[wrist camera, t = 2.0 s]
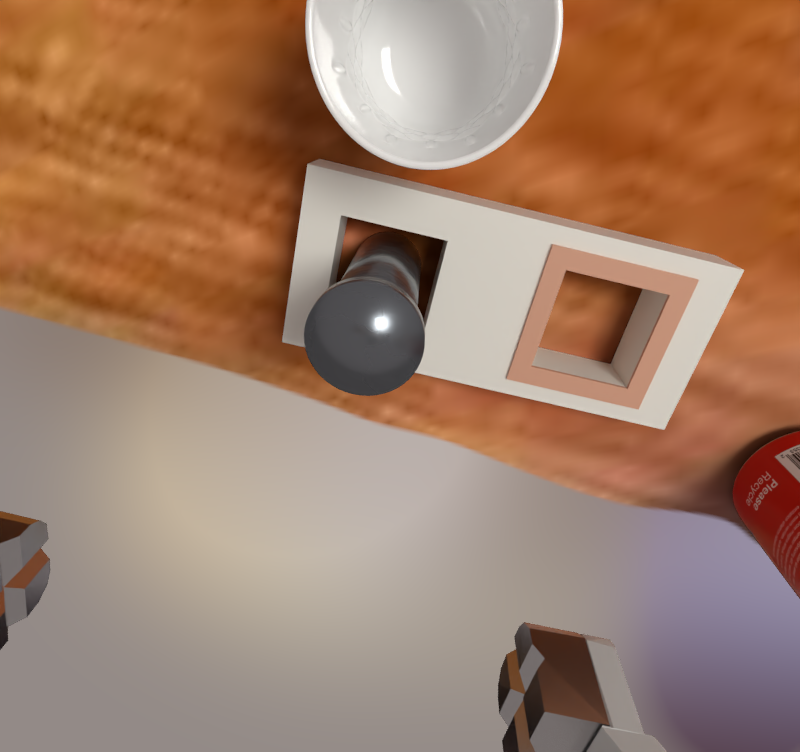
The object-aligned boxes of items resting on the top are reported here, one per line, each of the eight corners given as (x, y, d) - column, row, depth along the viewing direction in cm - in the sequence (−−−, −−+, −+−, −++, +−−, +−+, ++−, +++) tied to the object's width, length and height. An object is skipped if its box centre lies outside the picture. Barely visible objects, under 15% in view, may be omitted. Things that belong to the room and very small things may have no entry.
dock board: (715, 255, 29) (746, 271, 26) (645, 403, 33) (665, 431, 30) (319, 158, 28) (306, 164, 26) (294, 322, 32) (280, 343, 29)
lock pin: (437, 234, 30) (437, 298, 20) (418, 311, 32) (409, 406, 22) (356, 214, 30) (314, 269, 19) (341, 293, 31) (295, 381, 21)
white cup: (490, 167, 28) (515, 195, 19) (335, 128, 28) (288, 137, 19) (543, -18, 25) (603, -90, 16) (368, -66, 24) (328, -167, 15)
